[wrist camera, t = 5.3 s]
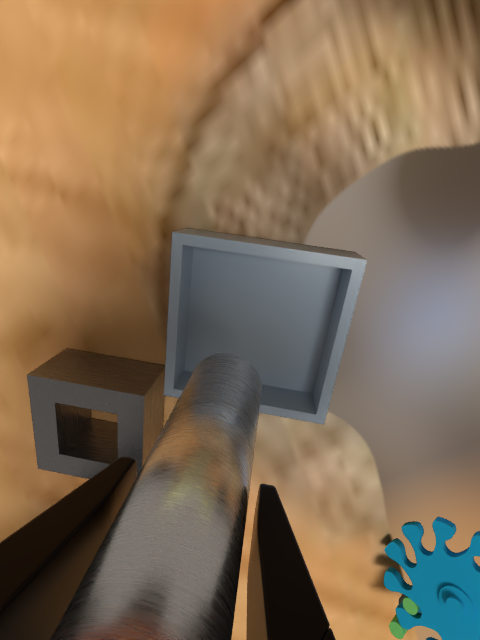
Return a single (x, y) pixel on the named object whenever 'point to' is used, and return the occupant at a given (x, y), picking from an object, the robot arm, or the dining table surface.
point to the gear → (436, 584)
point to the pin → (179, 521)
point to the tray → (262, 314)
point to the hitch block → (97, 394)
